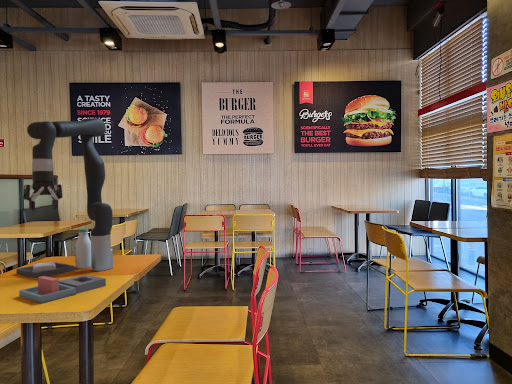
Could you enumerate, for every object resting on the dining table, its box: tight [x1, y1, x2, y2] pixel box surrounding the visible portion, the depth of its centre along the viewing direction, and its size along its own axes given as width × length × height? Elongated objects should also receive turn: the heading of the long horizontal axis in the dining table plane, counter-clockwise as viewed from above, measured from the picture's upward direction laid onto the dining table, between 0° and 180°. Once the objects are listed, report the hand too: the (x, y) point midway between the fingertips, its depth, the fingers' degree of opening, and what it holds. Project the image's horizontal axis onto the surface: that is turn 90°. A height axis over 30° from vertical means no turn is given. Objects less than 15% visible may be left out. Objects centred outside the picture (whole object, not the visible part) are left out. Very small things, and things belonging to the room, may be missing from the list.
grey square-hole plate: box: [59, 274, 107, 294], centre depth 147 cm, size 12×14×4 cm
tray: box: [18, 284, 77, 305], centre depth 136 cm, size 13×16×2 cm
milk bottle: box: [74, 228, 91, 270], centre depth 185 cm, size 8×8×20 cm
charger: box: [32, 261, 57, 273], centre depth 174 cm, size 5×9×15 cm
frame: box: [15, 261, 76, 279], centre depth 175 cm, size 18×19×2 cm
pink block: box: [37, 276, 60, 295], centre depth 136 cm, size 2×6×10 cm
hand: (43, 209), depth 147 cm, fingers open, 8 cm apart
